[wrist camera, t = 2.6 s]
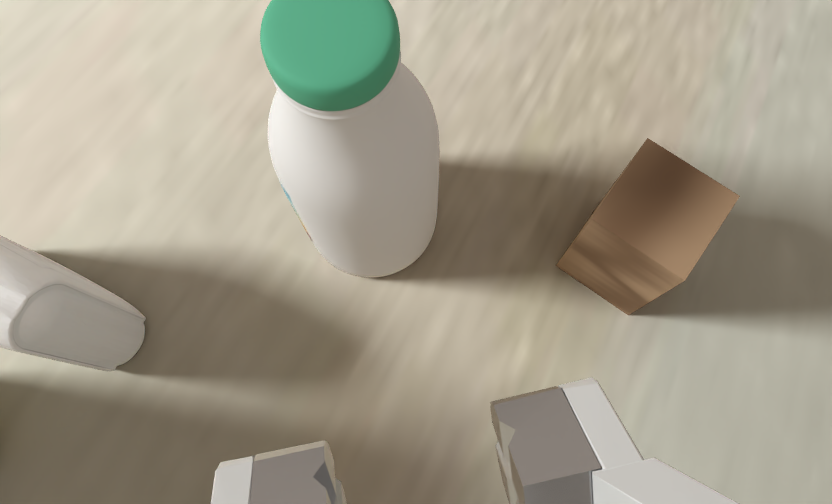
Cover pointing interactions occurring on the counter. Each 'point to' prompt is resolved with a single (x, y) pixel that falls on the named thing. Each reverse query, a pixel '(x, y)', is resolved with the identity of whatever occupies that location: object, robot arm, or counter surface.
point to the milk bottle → (351, 133)
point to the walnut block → (647, 229)
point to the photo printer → (63, 313)
